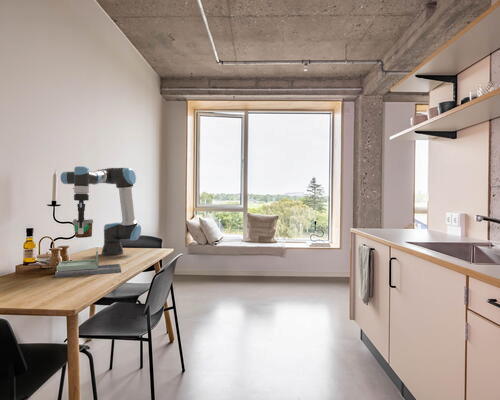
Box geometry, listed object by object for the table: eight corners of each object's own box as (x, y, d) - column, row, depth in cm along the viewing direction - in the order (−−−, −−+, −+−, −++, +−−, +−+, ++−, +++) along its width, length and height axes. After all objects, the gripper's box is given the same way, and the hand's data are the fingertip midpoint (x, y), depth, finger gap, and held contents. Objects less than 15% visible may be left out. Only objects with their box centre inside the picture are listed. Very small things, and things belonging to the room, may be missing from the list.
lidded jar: (61, 266, 209) (61, 251, 209) (49, 270, 198) (49, 254, 198) (44, 265, 210) (44, 250, 210) (32, 269, 199) (32, 253, 199)
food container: (67, 237, 192) (67, 220, 192) (76, 236, 198) (75, 219, 198) (86, 238, 189) (85, 220, 189) (93, 236, 195) (93, 219, 194)
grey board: (58, 270, 196) (58, 267, 196) (119, 266, 210) (119, 262, 210) (54, 277, 180) (54, 273, 180) (121, 272, 193) (121, 268, 193)
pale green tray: (59, 266, 196) (59, 249, 196) (97, 264, 204) (98, 247, 204) (56, 272, 181) (56, 253, 181) (98, 269, 189) (98, 251, 189)
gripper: (75, 193, 202) (75, 231, 202) (72, 193, 183) (72, 235, 183) (89, 194, 205) (88, 231, 205) (88, 193, 186) (87, 234, 186)
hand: (81, 233), depth 194 cm, fingers closed on food container, 8 cm apart
